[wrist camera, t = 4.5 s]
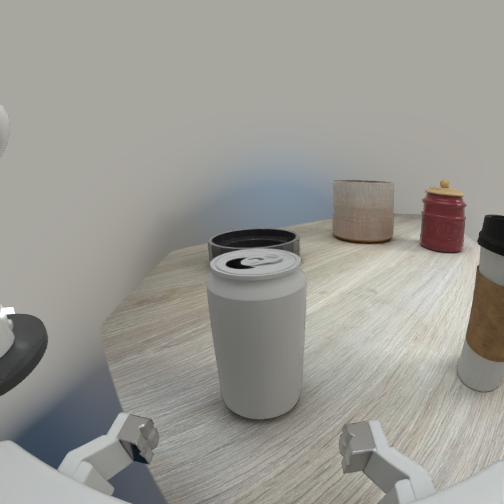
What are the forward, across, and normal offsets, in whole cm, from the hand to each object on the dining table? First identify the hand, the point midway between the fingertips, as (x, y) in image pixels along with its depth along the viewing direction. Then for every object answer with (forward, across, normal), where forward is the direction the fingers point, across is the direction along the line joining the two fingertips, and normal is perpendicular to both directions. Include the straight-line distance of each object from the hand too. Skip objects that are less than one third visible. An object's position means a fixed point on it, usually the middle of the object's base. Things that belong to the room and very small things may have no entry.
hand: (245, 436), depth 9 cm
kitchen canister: (+53, -46, +7) cm, 70 cm away
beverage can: (+9, 0, +7) cm, 12 cm away
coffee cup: (+8, -22, +7) cm, 24 cm away
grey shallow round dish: (+47, +3, +7) cm, 48 cm away
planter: (+66, -27, +7) cm, 72 cm away
